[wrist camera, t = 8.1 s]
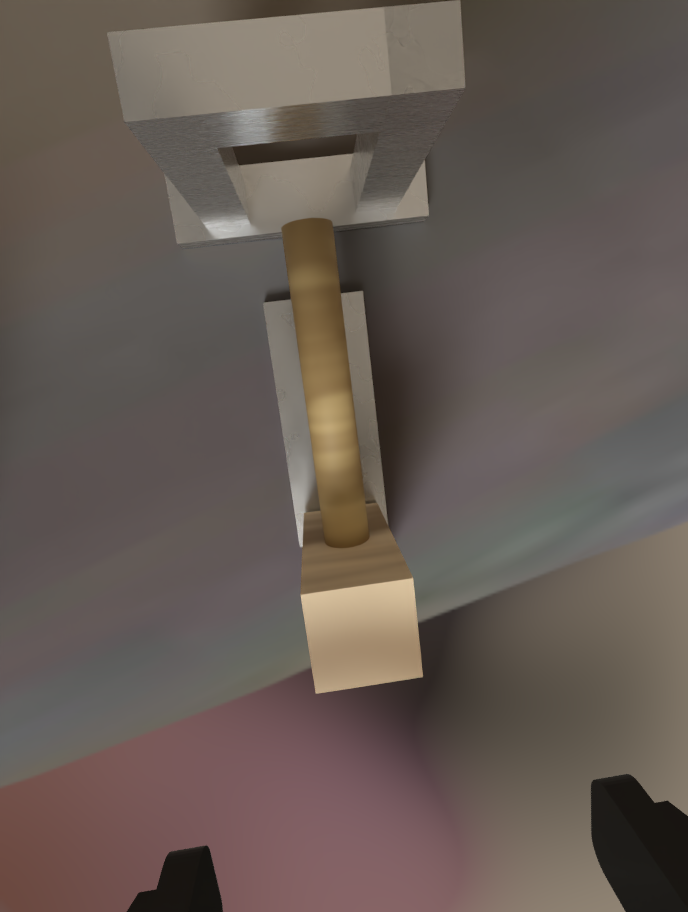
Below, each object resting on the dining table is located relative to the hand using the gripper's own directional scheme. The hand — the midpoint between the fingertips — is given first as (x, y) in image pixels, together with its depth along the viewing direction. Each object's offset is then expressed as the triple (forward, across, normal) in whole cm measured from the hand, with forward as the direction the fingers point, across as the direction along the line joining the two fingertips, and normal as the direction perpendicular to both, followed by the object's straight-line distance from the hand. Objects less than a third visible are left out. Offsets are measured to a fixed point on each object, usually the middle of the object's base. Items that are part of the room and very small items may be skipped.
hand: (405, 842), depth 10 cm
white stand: (+17, 0, -9) cm, 20 cm away
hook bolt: (+16, 0, -6) cm, 18 cm away
